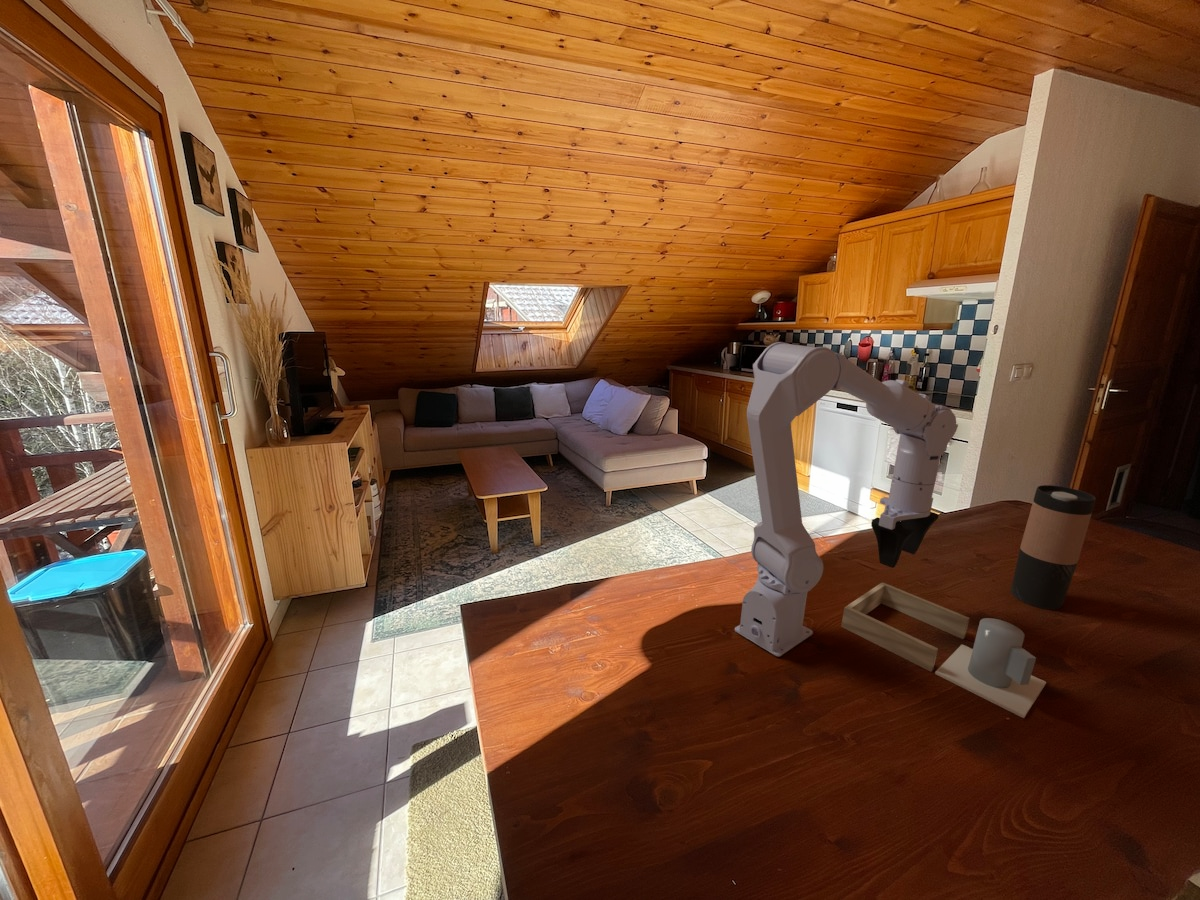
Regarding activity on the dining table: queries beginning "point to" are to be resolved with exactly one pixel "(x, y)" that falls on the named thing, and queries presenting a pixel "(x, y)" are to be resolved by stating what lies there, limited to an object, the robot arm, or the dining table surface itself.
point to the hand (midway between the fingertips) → (897, 558)
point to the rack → (895, 638)
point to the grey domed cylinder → (1000, 655)
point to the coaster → (1009, 698)
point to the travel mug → (1051, 545)
